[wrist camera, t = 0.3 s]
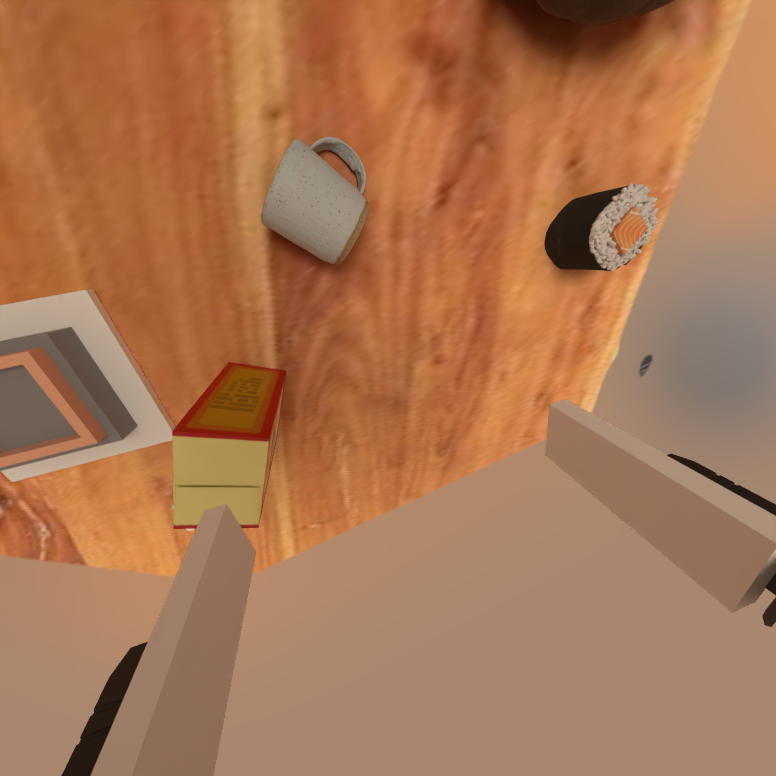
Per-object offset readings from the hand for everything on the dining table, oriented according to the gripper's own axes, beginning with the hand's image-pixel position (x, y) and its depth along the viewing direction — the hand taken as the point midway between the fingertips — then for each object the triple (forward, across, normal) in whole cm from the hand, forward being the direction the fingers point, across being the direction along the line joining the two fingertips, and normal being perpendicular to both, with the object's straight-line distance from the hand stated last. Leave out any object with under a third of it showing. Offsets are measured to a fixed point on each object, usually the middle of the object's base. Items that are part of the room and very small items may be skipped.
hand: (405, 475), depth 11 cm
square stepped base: (+28, -32, +1) cm, 42 cm away
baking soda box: (+28, -13, -6) cm, 31 cm away
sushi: (+28, +33, +5) cm, 43 cm away
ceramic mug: (+28, +1, +13) cm, 31 cm away
